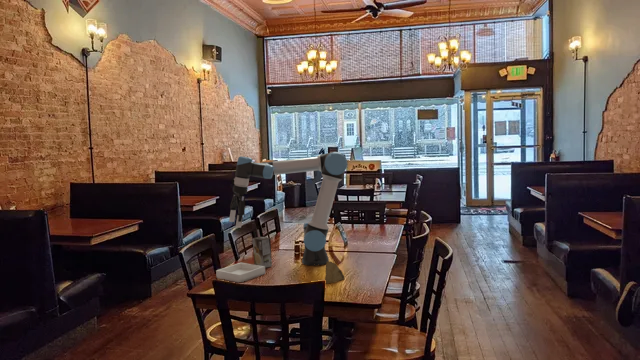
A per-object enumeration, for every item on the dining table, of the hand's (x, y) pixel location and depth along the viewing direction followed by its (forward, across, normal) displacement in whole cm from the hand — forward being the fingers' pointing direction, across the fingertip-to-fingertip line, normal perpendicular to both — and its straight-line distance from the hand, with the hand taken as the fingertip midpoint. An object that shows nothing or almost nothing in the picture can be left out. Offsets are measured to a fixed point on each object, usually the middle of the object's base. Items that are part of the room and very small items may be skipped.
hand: (234, 224), depth 254 cm
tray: (+25, +9, +5) cm, 27 cm away
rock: (+15, +44, +41) cm, 62 cm away
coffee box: (+23, -3, +21) cm, 32 cm away
